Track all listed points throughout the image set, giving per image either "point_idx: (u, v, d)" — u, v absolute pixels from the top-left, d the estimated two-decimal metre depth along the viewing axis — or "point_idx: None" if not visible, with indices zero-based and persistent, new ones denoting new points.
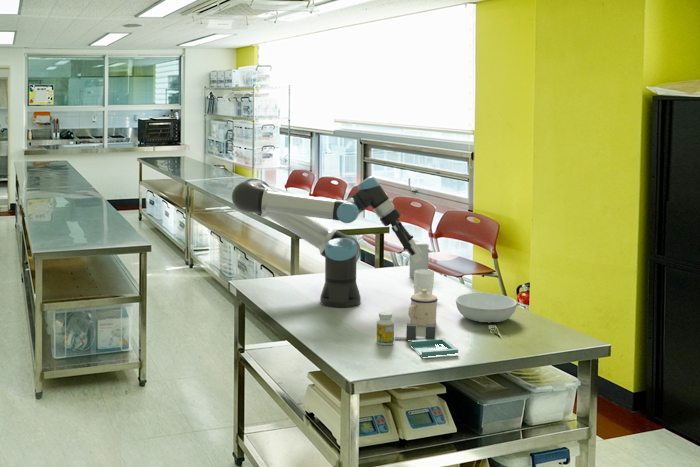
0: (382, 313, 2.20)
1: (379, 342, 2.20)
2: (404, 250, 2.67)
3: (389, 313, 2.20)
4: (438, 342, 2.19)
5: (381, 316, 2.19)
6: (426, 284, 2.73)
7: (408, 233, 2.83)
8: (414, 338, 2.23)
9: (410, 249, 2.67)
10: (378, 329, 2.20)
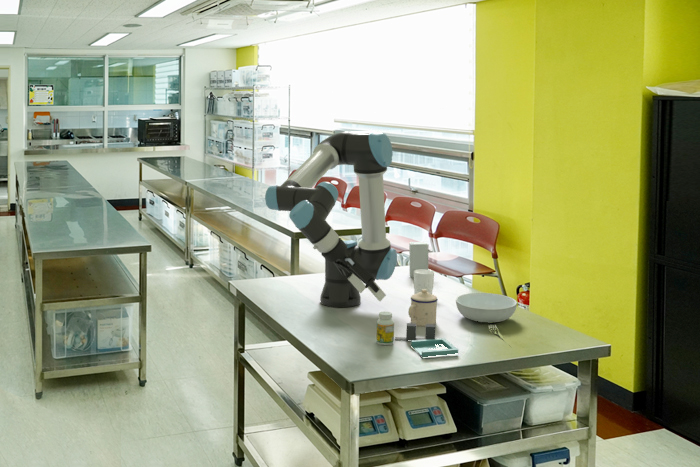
0: (382, 313, 2.20)
1: (379, 342, 2.20)
2: None
3: (389, 313, 2.20)
4: (438, 342, 2.19)
5: (381, 316, 2.19)
6: (426, 284, 2.73)
7: (364, 281, 2.08)
8: (414, 338, 2.23)
9: None
10: (378, 329, 2.20)
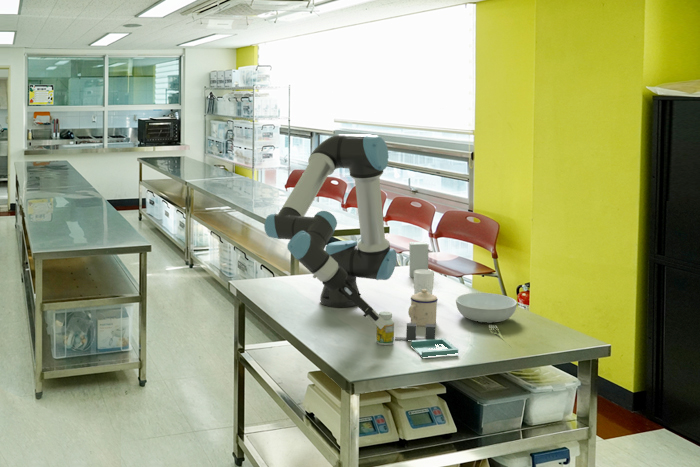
0: (382, 313, 2.20)
1: (379, 342, 2.20)
2: (360, 294, 2.25)
3: (389, 313, 2.20)
4: (438, 342, 2.19)
5: (381, 316, 2.19)
6: (426, 284, 2.73)
7: None
8: (414, 338, 2.23)
9: None
10: (378, 329, 2.20)
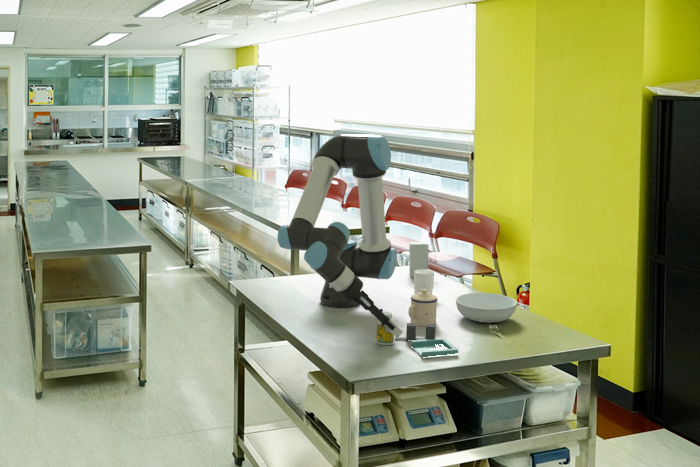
0: None
1: (379, 342, 2.20)
2: None
3: (389, 313, 2.20)
4: (438, 342, 2.19)
5: None
6: (426, 284, 2.73)
7: None
8: (414, 338, 2.23)
9: None
10: (378, 329, 2.20)
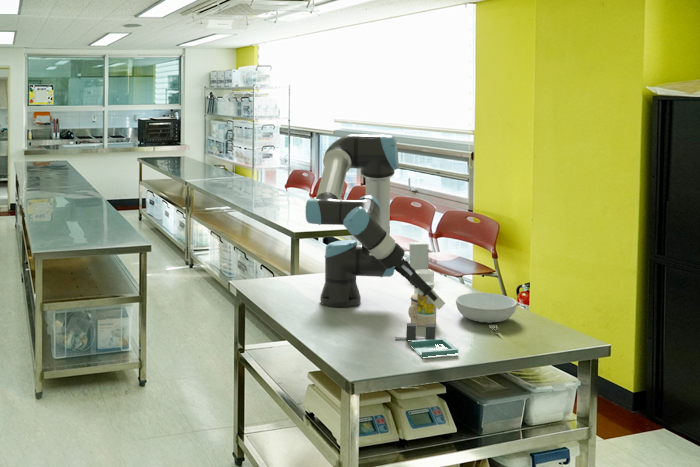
0: None
1: (420, 313, 2.11)
2: None
3: (430, 283, 2.11)
4: (438, 342, 2.19)
5: None
6: None
7: (420, 289, 2.05)
8: (414, 338, 2.23)
9: None
10: (419, 300, 2.10)
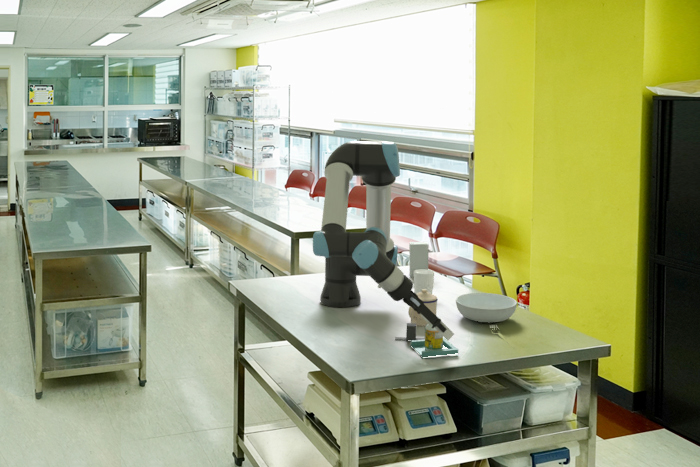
0: None
1: (428, 348, 2.13)
2: None
3: None
4: None
5: None
6: (426, 284, 2.73)
7: (430, 321, 2.05)
8: (414, 338, 2.23)
9: None
10: (427, 335, 2.12)
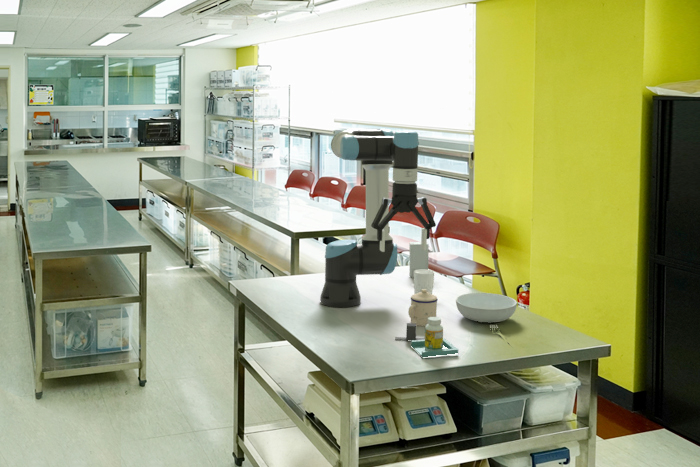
0: (431, 318, 2.13)
1: (428, 348, 2.13)
2: None
3: (438, 318, 2.13)
4: None
5: (430, 322, 2.12)
6: (426, 284, 2.73)
7: (430, 221, 2.21)
8: (414, 338, 2.23)
9: (377, 232, 2.19)
10: (427, 335, 2.12)
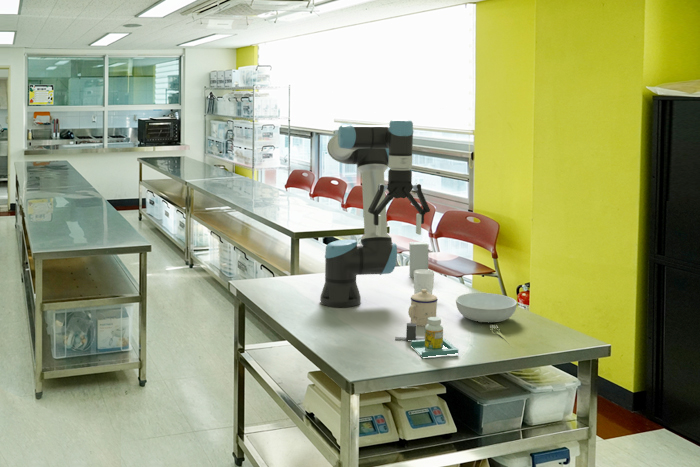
0: (431, 318, 2.13)
1: (428, 348, 2.13)
2: None
3: (438, 318, 2.13)
4: None
5: (430, 322, 2.12)
6: (426, 284, 2.73)
7: (424, 207, 2.30)
8: (414, 338, 2.23)
9: (374, 217, 2.28)
10: (427, 335, 2.12)
